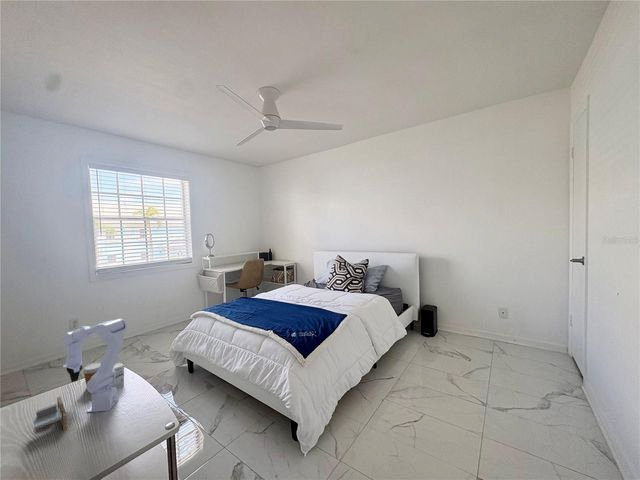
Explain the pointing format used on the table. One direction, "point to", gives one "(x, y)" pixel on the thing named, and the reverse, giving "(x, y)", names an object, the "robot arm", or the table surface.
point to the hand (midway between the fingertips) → (74, 380)
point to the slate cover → (46, 416)
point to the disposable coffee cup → (90, 370)
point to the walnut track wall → (62, 412)
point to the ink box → (118, 375)
